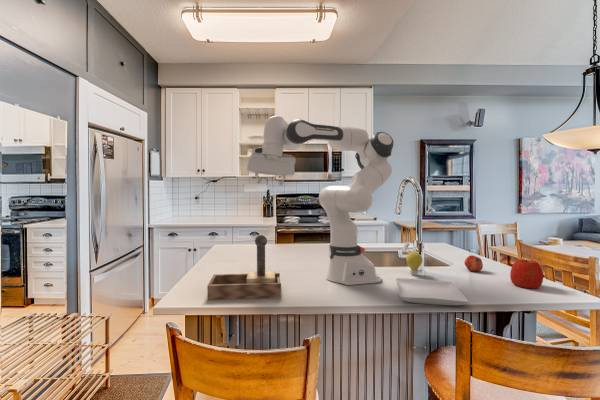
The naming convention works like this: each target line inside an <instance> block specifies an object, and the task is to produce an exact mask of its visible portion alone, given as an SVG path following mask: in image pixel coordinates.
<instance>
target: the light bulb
mask: <svg viewBox="0 0 600 400" xmlns="http://www.w3.org/2000/svg"><path fill="white" fill-rule="evenodd" d="M405 257H406V259H405V261H406V263H407V265H408V266H409V268H410V269H409V273H410V275H411V276H417V274H418V273H419V271H418V269H419V268H420V267H421V265H422V263H423V257H422V255H421V254H420V253H419V252H416V251H412V252H409V253H408V254H407V255H406V256H405Z"/></svg>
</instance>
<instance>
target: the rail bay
mask: <svg viewBox="0 0 600 400" xmlns="http://www.w3.org/2000/svg"><path fill="white" fill-rule="evenodd" d="M247 275H248V273H223V274H222V273H219V274H218V273H217V274H213V276H212V277H211V279H210V280H209V283H208V284H207V285H206V286H207V291H206V292H207V301H222V300H225V301H226V300H255V299H257V300H259V299H260V300H261V299H281V298H282V283H281V277H280V272H275V283H252V284H247Z"/></svg>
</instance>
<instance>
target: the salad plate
mask: <svg viewBox="0 0 600 400" xmlns="http://www.w3.org/2000/svg"><path fill="white" fill-rule="evenodd" d="M395 281H396V285H397V289H398V295H399V298H400V299H401V300H402V301H404V302H406V303H407V302H408V303H412V304H413V303H414V304H425V305H436V306H437V305H439V306H452V307H453V306H455V307H456V306H457V307H458V306H459V307H460V306H463V305H465V304H467V303H468V302H469V300H468V299H467V297H466V296H465V295H464V294H463V292H462V291H461V290H460V289H459V287H458V286H457V285H456V284H455V283H454V282H452V281H444V280H432V279H421V278H419V279H417V278H401V277H400V278H399V277H396V278H395Z"/></svg>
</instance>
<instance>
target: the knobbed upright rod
mask: <svg viewBox="0 0 600 400" xmlns="http://www.w3.org/2000/svg"><path fill="white" fill-rule="evenodd" d="M267 242H268V239H267V237H266V236H265V235H262V234H260V235H257V236H256V237H255V239H254V243H255V246H256V271H248V272H247V274H248V275H247V284H252V283H275V273H276V272H275V271H266V245H267Z"/></svg>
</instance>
